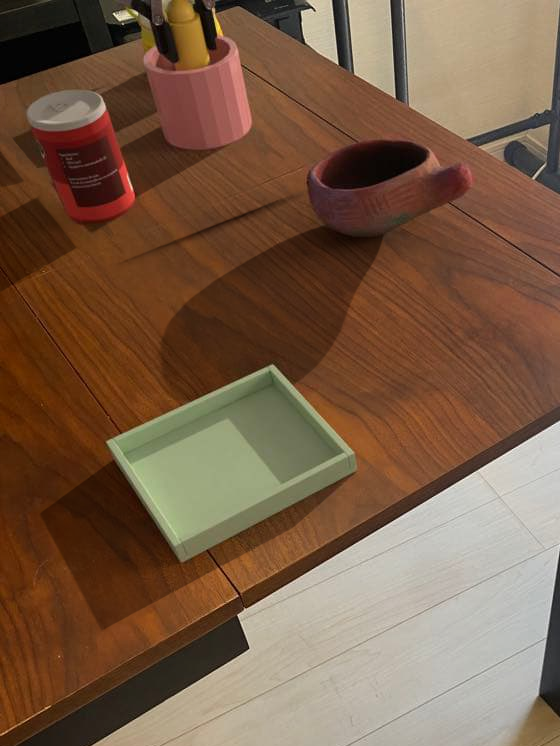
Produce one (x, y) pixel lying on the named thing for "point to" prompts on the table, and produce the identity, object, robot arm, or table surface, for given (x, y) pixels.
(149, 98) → the table surface
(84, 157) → the canned food
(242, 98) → the pot
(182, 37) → the bottle
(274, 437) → the tray
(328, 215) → the bowl
